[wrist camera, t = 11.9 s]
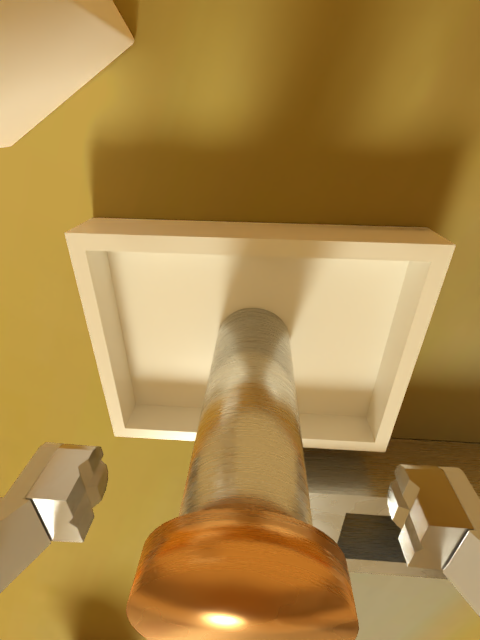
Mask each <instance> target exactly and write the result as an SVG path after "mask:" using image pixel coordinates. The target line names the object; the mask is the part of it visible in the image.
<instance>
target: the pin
mask: <svg viewBox="0 0 480 640" xmlns="http://www.w3.org/2000/svg"><path fill="white" fill-rule="evenodd" d="M126 613H127V617H128V619H129V621H130V623H131V625H132V626H133V627H134V628H135V630H136V631H138V632H139V633H140V634H141V635H142V636H143V637H145V638H146V639H148V640H355V638H356V637H357V634H358V630H359V626H358V619H357V613H356V608H355V603H354V598H353V592H352V587H351V582H350V577H349V572H348V566H347V561H346V558H345V555H344V553H343V551H342V550H341V548H340V547H339V546H338V544H337V543H336V542H335V541H334V540H333V539H332V538H330V537H329V536H328V535H327V534H325V533H324V532H322V531H321V530H319V529H317V528H316V527H314V526H313V524H312V516H311V508H310V500H309V492H308V483H307V475H306V467H305V459H304V451H303V443H302V435H301V427H300V419H299V411H298V403H297V395H296V387H295V378H294V370H293V362H292V354H291V346H290V338H289V332H288V329H287V327H286V325H285V323H284V322H283V321H282V319H281V318H280V317H278V316H277V315H276V314H274V313H272V312H270V311H268V310H265V309H261V308H244V309H241V310H238V311H235V312H234V313H232V314H230V315H229V316H228V317H227V318H226V319H225V320H224V321H223V322H222V324H221V326H220V328H219V331H218V336H217V340H216V345H215V350H214V354H213V359H212V364H211V368H210V373H209V378H208V382H207V387H206V392H205V396H204V401H203V406H202V410H201V415H200V420H199V424H198V429H197V434H196V438H195V443H194V448H193V452H192V457H191V462H190V466H189V471H188V476H187V480H186V485H185V490H184V494H183V499H182V504H181V508H180V513H179V517H176V518H174V519H172V520H170V521H168V522H165V523H164V524H162V525H161V526H159V527H158V528H156V529H155V530H154V531H153V532H152V533H151V534H150V535H149V537H148V538H147V540H146V541H145V544H144V546H143V550H142V553H141V557H140V560H139V564H138V567H137V571H136V574H135V578H134V581H133V585H132V589H131V592H130V596H129V599H128V603H127V608H126Z"/></svg>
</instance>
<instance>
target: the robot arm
mask: <svg viewBox="0 0 480 640" xmlns="http://www.w3.org/2000/svg"><path fill="white" fill-rule="evenodd" d="M102 457H103V452H102V449H101V447H97V446H86V445H74V444H63V443H48V442H46V443H44V444H43V445H42V446H40V447H39V448H38V450H37V451H36V453H35V454H34V455H33V457H32V458H31V460H30V461H29V463H28V464H27V465H26V467H25V468H24V470H23V471H22V472H21V474H20V475H19V477H18V478H17V480H16V481H15V482H14V484H13V485H12V487H11V488H10V489H9V491H8V492H7V494H6V495H5V496H4V498H2V497H0V593H1V592H2V591H3V590H4V589H5V588H6V587H7V586H8V585H9V584H10V583H11V582H12V581H13V580H14V579H15V578H16V577H17V576H18V575H19V574H20V573H21V572H22V571H23V570H24V569H25V568H26V567H27V566H28V565H29V564H30V563H31V562H32V561H34V560H35V559H36V558H37V557H38V556H39V555H40V554H41V553H42V552H43V551H44V550H45V549H46V548H47V547H48V546H49V545H50V544H51V541H61V542H83V541H84V539H85V537H86V535H87V532H88V530H89V528H90V525H91V523H92V521H93V519H94V513H93V509H92V508H93V507H94V506H95V505H97V504H98V503H99V502H100V501H101V500H102V498H103V495H104V493H105V491H106V486H107V482H108V469H107V465H106V464H104V463H103V462H102V461H101V459H102ZM394 474H395V476H396V480H395V481H393V482H391V483H390V486H389V489H388V506H389V511H390V515H391V518H392V521H393V522H394V523H395V524H396V525H397V526H398V527H399V528H400V529H401V532H400V535H399V537H398V539H399V542H400V545H401V548H402V551H403V554H404V557H405V560H406V563H407V566H408V567H415V568H425V569H434V570H444V571H443V573H444V575H445V576H446V577H447V578H448V580H449V581H450V582H451V583H452V584H453V586H454V587H455V588H456V589H457V590H458V592H459V593H460V594H461V595H462V596H463V598H464V599H465V600H466V601H467V602H468V604H469V605H470V606H471V607H472V608H473V610H474V611H475V612H476V613H477V614H478V616H479V617H480V499H479V497H478V496H477V494H476V492H475V490H474V489H473V487H472V485H471V484H470V482H469V480H468V479H467V477H466V475H465V473H464V472H463V471H462V470H461V469H460V468H456V467H437V466H427V465H406V464H400V465H398V466H397V467H396V469H395V472H394Z"/></svg>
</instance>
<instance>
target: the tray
mask: <svg viewBox="0 0 480 640" xmlns="http://www.w3.org/2000/svg"><path fill="white" fill-rule="evenodd" d="M65 237H66V241H67V245H68V249H69V253H70V257H71V261H72V265H73V269H74V273H75V278H76V282H77V286H78V290H79V294H80V298H81V302H82V306H83V310H84V314H85V318H86V322H87V326H88V330H89V334H90V338H91V342H92V346H93V350H94V354H95V358H96V362H97V366H98V371H99V375H100V379H101V383H102V387H103V391H104V395H105V399H106V403H107V407H108V411H109V415H110V419H111V423H112V427H113V431H114V435H115V436H118V437H135V438H152V439H169V440H186V441H195V438H196V434H197V429H198V424H199V420H200V415H201V410H202V406H203V401H204V396H205V392H206V387H207V382H208V378H209V373H210V368H211V364H212V359H213V354H214V350H215V345H216V340H217V336H218V331H219V328H220V326H221V324H222V322H223V321H224V320H225V319H226V318H227V317H228V316H229V315H230V314H232V313H234V312H235V311H238V310H241V309H244V308H261V309H265V310H268V311H270V312H272V313H274V314H276V315H277V316H278V317H280V318H281V319H282V321H283V322H284V323H285V325H286V327H287V329H288V332H289V338H290V346H291V354H292V362H293V370H294V378H295V387H296V395H297V403H298V411H299V419H300V427H301V435H302V443H303V447H305V448H322V449H339V450H356V451H373V452H385V451H386V448H387V445H388V442H389V440H390V437H391V434H392V431H393V428H394V425H395V422H396V419H397V416H398V413H399V410H400V407H401V404H402V401H403V398H404V396H405V393H406V390H407V387H408V384H409V381H410V378H411V375H412V372H413V369H414V366H415V363H416V360H417V357H418V354H419V352H420V349H421V346H422V343H423V340H424V337H425V334H426V331H427V328H428V325H429V322H430V319H431V316H432V313H433V310H434V308H435V305H436V302H437V299H438V296H439V293H440V290H441V287H442V284H443V281H444V278H445V275H446V272H447V269H448V267H449V264H450V261H451V258H452V255H453V252H454V249H455V246H456V245H455V244H453V243H452V242H450V241H449V240H447V239H445V238H444V237H442V236H441V235H439V234H437V233H436V232H434V231H432V230H431V229H429V228H428V227H399V226H365V225H330V224H295V223H261V222H226V221H191V220H157V219H122V218H91V219H89V220H87V221H86V222H84V223H82V224H80V225H78V226H76V227H74V228H72V229H71V230H69V231H67V232H65Z"/></svg>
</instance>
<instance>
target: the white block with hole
mask: <svg viewBox="0 0 480 640" xmlns="http://www.w3.org/2000/svg"><path fill="white" fill-rule="evenodd" d="M303 451H304V459H305V467H306V475H307V483H308V492H309V500H310V508H311V516H312V524H313V526H314V527H316V528H317V529H319V530H321V531H322V532H324V533H325V534H327V535H328V536H329V537H330V538H332V539H333V540H334V541H335V542H336V543H337V544H338V546H339V547H340V548H341V550H342V551H343V553H344V555H345V558H346V561H347V566H348V572H358V573H371V574H384V575H398V576H411V577H424V578H438V579H448V578H447V577H446V576H445V575H444V573H443V571H444V570H434V569H425V568H415V567H408V566H407V563H406V560H405V557H404V554H403V551H402V548H401V545H400V542H399V539H398V537H399V535H400V532H401V529H400V528H399V527H398V526H397V525H396V524H395V523H394V522H393V521H392V518H391V515H390V511H389V506H388V489H389V486H390V483H391V482H393V481H395V480H396V476H395V474H394V472H395V469H396V467H397V466H398V465H400V464H406V465H427V466H437V467H456V468H460V469H461V470H462V471H463V472H464V473H465V475H466V477H467V479H468V480H469V482H470V484H471V485H472V487H473V489H474V490H475V492H476V494H477V496H478V497H479V499H480V443H463V442H445V441H428V440H410V439H392V438H390V440H389V442H388V445H387V448H386V451H385V452H373V451H356V450H339V449H322V448H305V447H303Z"/></svg>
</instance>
